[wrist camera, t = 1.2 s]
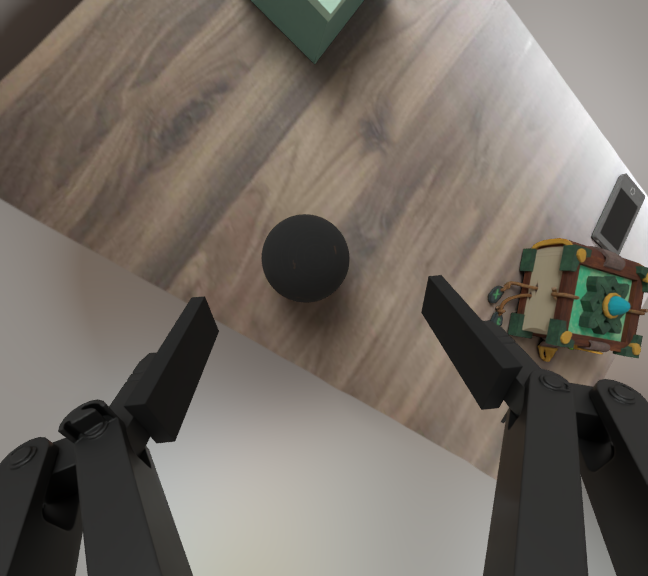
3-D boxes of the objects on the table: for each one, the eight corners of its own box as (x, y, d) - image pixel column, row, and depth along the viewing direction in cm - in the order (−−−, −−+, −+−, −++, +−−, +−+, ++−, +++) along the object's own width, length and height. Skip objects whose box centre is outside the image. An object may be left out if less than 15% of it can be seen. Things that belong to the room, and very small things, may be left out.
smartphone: (613, 259, 51) (617, 259, 51) (591, 237, 49) (595, 236, 49) (640, 197, 53) (646, 196, 52) (620, 173, 51) (625, 172, 50)
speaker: (315, 212, 34) (339, 188, 25) (344, 277, 36) (378, 279, 26) (246, 242, 32) (243, 229, 22) (281, 310, 34) (293, 326, 24)
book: (476, 351, 43) (540, 374, 34) (499, 231, 43) (569, 219, 34) (579, 364, 51) (655, 386, 41) (598, 262, 51) (679, 259, 41)
